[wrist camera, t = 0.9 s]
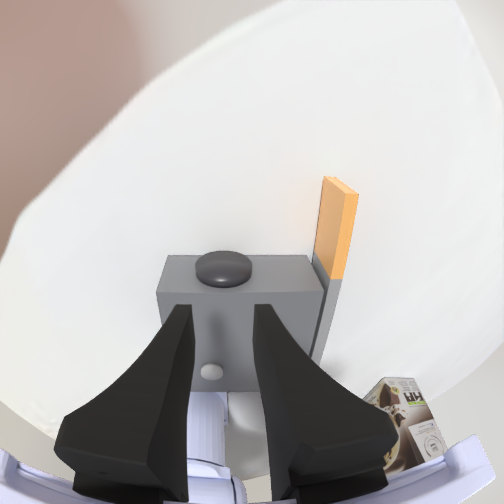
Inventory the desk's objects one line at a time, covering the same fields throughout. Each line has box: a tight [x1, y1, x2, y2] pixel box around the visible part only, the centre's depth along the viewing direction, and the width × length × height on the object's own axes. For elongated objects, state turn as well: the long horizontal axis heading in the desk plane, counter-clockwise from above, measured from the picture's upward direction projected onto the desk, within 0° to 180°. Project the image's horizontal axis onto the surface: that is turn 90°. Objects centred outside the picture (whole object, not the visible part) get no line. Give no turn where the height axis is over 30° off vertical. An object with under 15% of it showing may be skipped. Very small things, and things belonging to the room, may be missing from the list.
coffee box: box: [363, 378, 448, 477], centre depth 26 cm, size 9×6×16 cm
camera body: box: [156, 251, 324, 392], centre depth 21 cm, size 11×10×5 cm
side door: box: [309, 176, 359, 366], centre depth 20 cm, size 16×1×4 cm, turn 178°
